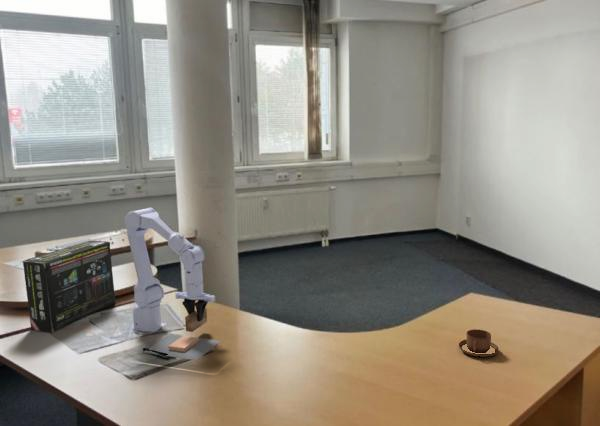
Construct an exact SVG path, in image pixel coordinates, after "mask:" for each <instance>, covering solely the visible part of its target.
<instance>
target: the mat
mask: <svg viewBox="0 0 600 426" xmlns="http://www.w3.org/2000/svg"><path fill="white" fill-rule="evenodd" d="M182 336H183V335H182V334H181V335H180V334H172V333H170V334H169V335H167V336H166V337H164V338H162V339H161V340H160V341H158V342H156V343H155V344H152V345H151V346H150V347H149V348H148V349H152V350H156V351H160V352H164V353H167V354H168V355H166V356H165V357H172V358H178V359H184V360H190V361H198V360H199V359H201V357H203V356H204V355H205V354H207V353H208V352H209V351H211V350H212V349H213V348H214V347H216V346H217V345H218V344H219V343H220V342H221V340H219V339H217V340H216V339H212V338H211V339H210V338H203V337H198V338H199V341H198V342H197V343H196V344H194V345H193V346H191V347H190V348H189V349H187V350H186V351H185V352H181V351H175V350H169V349H168V346H169V345H171V344H172V343H173V342H175V341H176V340H178V339H179V338H181V337H182ZM143 353H144V354H151V355H158V354H157V353H155V352H152V351H147V349H146V350H144V351H142V354H143ZM158 356H159V355H158Z"/></svg>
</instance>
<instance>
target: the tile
mask: <svg viewBox="0 0 600 426" xmlns="http://www.w3.org/2000/svg"><path fill="white" fill-rule="evenodd" d="M199 338H200V337H196V336H195V337H194V336H187V335H182V337H181V338H179V339H178V340H176V341H175V342H173V343H172V344H171V345H169V346H168V349H169V350H175V351H181V352H185V351H186V350H187V349H189V348H190V347H191V346H193V345H194V344H196V343H197V342H198V341H199Z"/></svg>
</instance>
